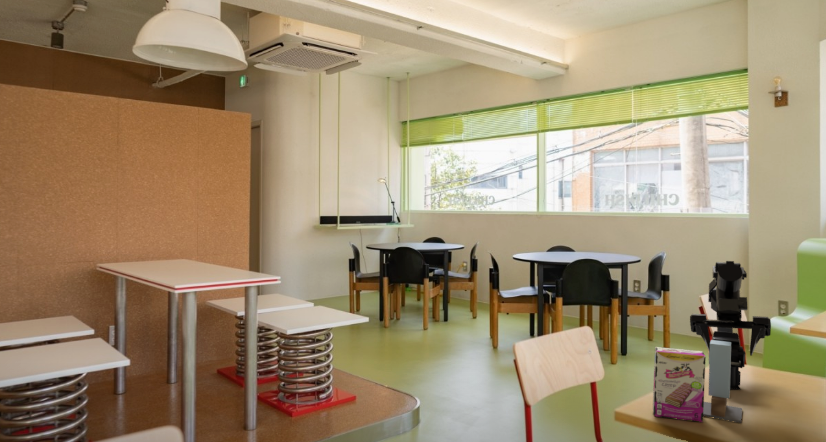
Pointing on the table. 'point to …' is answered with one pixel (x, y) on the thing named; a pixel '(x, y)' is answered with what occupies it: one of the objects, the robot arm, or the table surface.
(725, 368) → the block
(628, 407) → the table surface
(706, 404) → the mat
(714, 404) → the ridge
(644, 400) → the table surface
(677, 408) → the candy bar box
